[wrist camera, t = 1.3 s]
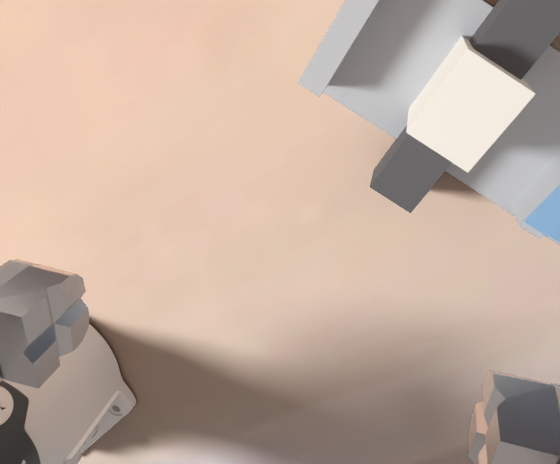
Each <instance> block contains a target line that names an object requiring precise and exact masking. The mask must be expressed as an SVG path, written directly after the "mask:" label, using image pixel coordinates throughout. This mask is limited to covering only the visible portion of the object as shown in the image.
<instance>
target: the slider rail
mask: <svg viewBox="0 0 560 464" xmlns="http://www.w3.org/2000/svg"><path fill="white" fill-rule="evenodd" d="M492 9H493V7H492V6H490V5H489V4H487V3H486V2H484V1H483V0H345V2H344V3H343V5H342V7H341V9H340V10H339V12H338V14H337V16H336V17H335V19H334V21H333V23H332V24H331V26H330V28H329V29H328V31H327V33H326V35H325V36H324V38H323V40H322V42H321V43H320V45H319V47H318V49H317V50H316V52H315V54H314V56H313V57H312V59H311V61H310V63H309V64H308V66H307V68H306V69H305V71H304V73H303V75H302V76H301V78H300V80H299V82H298V83H299V84H301V85H302V86H304V87H305V88H307V89H308V90H310V91H311V92H313V93H315V94H316V95H318V96H319V97H320V96H321V94H322V93H323V92H324V93H325V94H327V95H328V96H330V97H332V98H333V99H335V100H336V101H338V102H339V103H341V104H342V105H344V106H345V107H347V108H348V109H350V110H352V111H353V112H355V113H356V114H358V115H359V116H361V117H362V118H364V119H365V120H367V121H369V122H370V123H372V124H373V125H375V126H376V127H378V128H379V129H381V130H382V131H384V132H386V133H387V134H389V135H390V136H392V137H393V138H395V139H397V138H398V136H399V135H400V134H401V132H402V131H403V130H404V128H405V127H406V126H407V120H408V111H409V108H410V107H411V105H412V104H413V102H414V101H415V100H416V98H417V97H418V96H419V94H420V93H421V91H422V90H423V89H424V87H425V86H426V84H427V83H428V82H429V80H430V79H431V78H432V76H433V75H434V73H435V72H436V71H437V69H438V68H439V67H440V65H441V64H442V62H443V61H444V60H445V58H446V57H447V56H448V54H449V53H450V51H451V50H452V49H453V47H454V46H455V44H456V43H457V42H458V40H459V39H460V38H461V36H463V37H465V38H466V39H468V40H470V39H471V37H472V36H473V35H474V33H475V32H476V31H477V29H478V28H479V26H480V25H481V24H482V22H483V21H484V20H485V18H486V17H487V16H488V14H489V13H490V12H491V10H492ZM523 79H524V80H525V81H526V82H527V84H528V85H529V86H530V87H531V89H532V90H533V91H534V92H535V95H534V97H533V98H532V99H531V100H530V101H529V102H528V104H527V105H526V106H525V107H524V108H523V109H522V111H521V112H520V113H519V114H518V115H517V116H516V118H515V119H514V120H513V121H512V122H511V123H510V125H509V126H508V127H507V128H506V129H505V130H504V131H503V133H502V134H501V135H500V136H499V137H498V138H497V140H496V141H495V142H494V143H493V144H492V145H491V147H490V148H489V149H488V150H487V151H486V152H485V154H484V155H483V156H482V157H481V158H480V159H479V161H478V162H477V163H476V164H475V165H474V166H473V168H472V169H471V170H470V171H469V172H466V171H465V170H463V169H461V168H460V167H458V166H457V165H455V164H454V163H452V164H451V165H450V166H449V167H448V168H447V170H446V172H447V173H449V174H450V175H452V176H453V177H455V178H456V179H458V180H460V181H461V182H463V183H464V184H466V185H467V186H469V187H470V188H472V189H473V190H475V191H477V192H478V193H480V194H481V195H483V196H484V197H486V198H487V199H489V200H490V201H492V202H494V203H495V204H497V205H498V206H500V207H501V208H503V209H504V210H506V211H507V212H509V213H510V214H512V215H514V216H515V217H516V219H517V222H518V225H519V226H520V227H522V228H523V229H525V230H526V231H528V232H529V233H531V234H532V235H534V236H535V237H537V238H539V239H540V238H541V237H542V236H543V235H544V236H546V237H548V238H549V239H551V240H552V241H554V242H555V243H557V244H558V245H560V52H559V51H557V50H556V49H555V48H553V47H552V46H549V47H548V48H547V49H546V50H545V52H544V53H543V54H542V55H541V56H540V58H539V59H538V60H537V61H536V62H535V64H534V65H533V66H532V67H531V68H530V70H529V71H528V72H527V73H526V75H525V76H524V77H523Z"/></svg>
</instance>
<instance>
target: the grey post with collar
mask: <svg viewBox="0 0 560 464" xmlns="http://www.w3.org/2000/svg"><path fill="white" fill-rule="evenodd" d="M559 34H560V0H499V1H498V2H497V3H496V5H495V6H494V7H493V9H492V10H491V12H490V13H489V14H488V16H487V17H486V18H485V20H484V21H483V22H482V24H481V25H480V26H479V28H478V29H477V31H476V32H475V33H474V35H473V36H472V37H471V39H470V40H468V39H466V38H465V37H463V36H461V38H460V39H459V40H458V42H457V43H456V44H455V46H454V47H453V49H452V50H451V51H450V53H449V54H448V56H447V57H446V58H445V60H444V61H443V62H442V64H441V65H440V67H439V68H438V69H437V71H436V72H435V73H434V75H433V76H432V78H431V79H430V80H429V82H428V83H427V84H426V86H425V87H424V89H423V90H422V91H421V93H420V94H419V96H418V97H417V98H416V100H415V101H414V102H413V104H412V105H411V107H410V108H409V111H408V120H407V126H406V127H405V128H404V130H403V131H402V132H401V134H400V135H399V136H398V138H397V139H396V140H395V142H394V143H393V145H392V146H391V147H390V149H389V150H388V151H387V153H386V154H385V155H384V157H383V158H382V159H381V161H380V162H379V164H378V165H377V166H376V168H375V169H374V171H373V176H372V180H371V184H370V187H371V188H372V189H374V190H375V191H377V192H378V193H380V194H382V195H383V196H385V197H386V198H388V199H389V200H391V201H392V202H394V203H396V204H397V205H399V206H400V207H402V208H403V209H405V210H406V211H408V212H410V213H411V212H412V211H413V209H414V208H415V207H416V206H417V205H418V203H419V202H420V201H421V200H422V199H423V197H424V196H425V195H426V194H427V193H428V191H429V190H430V189H431V188H432V187H433V185H434V184H435V183H436V182H437V181H438V179H439V178H440V177H441V176H442V175H443V173H444V172H445V171H446V170H447V168H448V167H449V166H450V165H451V164H452V163H454V164H455V165H457V166H458V167H460V168H461V169H463V170H465V171H466V172H469V171H470V170H471V169H472V168H473V166H474V165H475V164H476V163H477V162H478V161H479V159H480V158H481V157H482V156H483V155H484V154H485V152H486V151H487V150H488V149H489V148H490V147H491V145H492V144H493V143H494V142H495V141H496V140H497V138H498V137H499V136H500V135H501V134H502V133H503V131H504V130H505V129H506V128H507V127H508V126H509V125H510V123H511V122H512V121H513V120H514V119H515V118H516V116H517V115H518V114H519V113H520V112H521V111H522V109H523V108H524V107H525V106H526V105H527V104H528V102H529V101H530V100H531V99H532V98H533V97H534V95H535V92H534V91H533V90H532V89H531V87H530V86H529V85H528V84H527V82H526V81H525V80H524V79H523V77H524V76H525V75H526V73H527V72H528V71H529V70H530V68H531V67H532V66H533V65H534V64H535V62H536V61H537V60H538V59H539V58H540V56H541V55H542V54H543V53H544V52H545V50H546V49H547V48H548V47H549V46H550V44H551V43H552V42H553V41H554V40H555V38H556V37H557V36H558V35H559Z"/></svg>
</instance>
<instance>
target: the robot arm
mask: <svg viewBox="0 0 560 464" xmlns="http://www.w3.org/2000/svg"><path fill="white" fill-rule="evenodd" d="M84 293H85V287H84V282H83V278H82V277H80V276H79V275H77V274H74V273H70V272H66V271H62V270H59V269H55V268H51V267H47V266H43V265H39V264H34V263H30V262H26V261H22V260H18V259H16V260H9V261H8V262H6V263H5V264H3V265H2V266H0V464H77V463H78V462H79V460H80V459H81V457H82V456H81V454H82V453H83V452H84V451H85V450H86V449H87V448H89V447H90V446H91V445H92V444H93V443H94V442H95V441H97V440H98V439H99V438H100V437H101V436H102V435H104V434H105V433H106V432H107V431H108V430H109V429H110V428H112V427H113V426H114V425H115V424H116V423H117V422H118V421H120V420H121V419H122V418H123V417H124V416H125V415H127V414H128V413H129V412H130V411H131V410H132V408H133V407H134V406H135V404H136V399H135V397H134V395H133V393H132V392H131V390H130V389H129V388H128V386H127V385H126V384H125V382H124V381H123V379H122V376H121V374H120V370H119V366H118V363H117V360H116V358H115V356H114V354H113V352H112V350H111V348H110V347H109V345H108V344H107V342H106V341H105V340H104V338H103V337H102V336H101V335H100V334H99V333H98V332H97V331H96V330H95V329H94V328H93V327H92V326H91V325H90V324H89V311H88V308H87V306H86V305H85V304H84V302H83V301H82V300H81V297H82V295H83V294H84ZM482 397H483V400H482V401H480V402H478V403H476V404H475V407H474V410H473V413H472V417H471V421H470V427H469V432H468V457H469V459H470V460H471V461H472V463H473V464H560V385H556V384H552V383H550V384H548V383H544V382H540V381H535V380H531V379H527V378H522V377H518V376H513V375H509V374H504V373H500V372H496V371H491V370H489V371H488V373H487V374H486V376H485V379H484V381H483V384H482Z"/></svg>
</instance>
